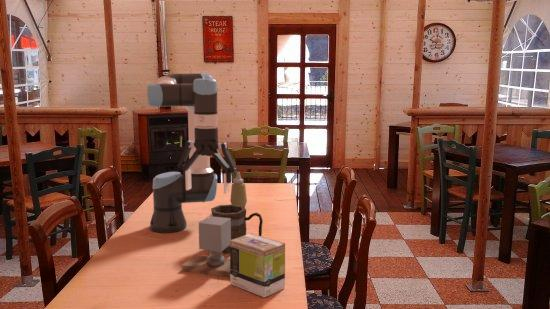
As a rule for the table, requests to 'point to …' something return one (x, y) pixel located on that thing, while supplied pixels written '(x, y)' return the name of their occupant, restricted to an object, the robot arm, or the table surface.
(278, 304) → the table surface
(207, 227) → the gray cube
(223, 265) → the brown base with rod
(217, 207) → the mug
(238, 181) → the squeeze bottle
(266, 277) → the tea box
